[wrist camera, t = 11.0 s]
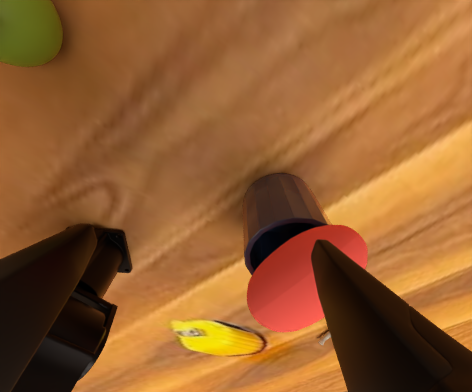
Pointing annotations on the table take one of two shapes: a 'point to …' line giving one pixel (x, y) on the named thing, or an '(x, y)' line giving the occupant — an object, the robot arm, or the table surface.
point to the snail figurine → (29, 32)
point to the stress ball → (297, 279)
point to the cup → (277, 215)
